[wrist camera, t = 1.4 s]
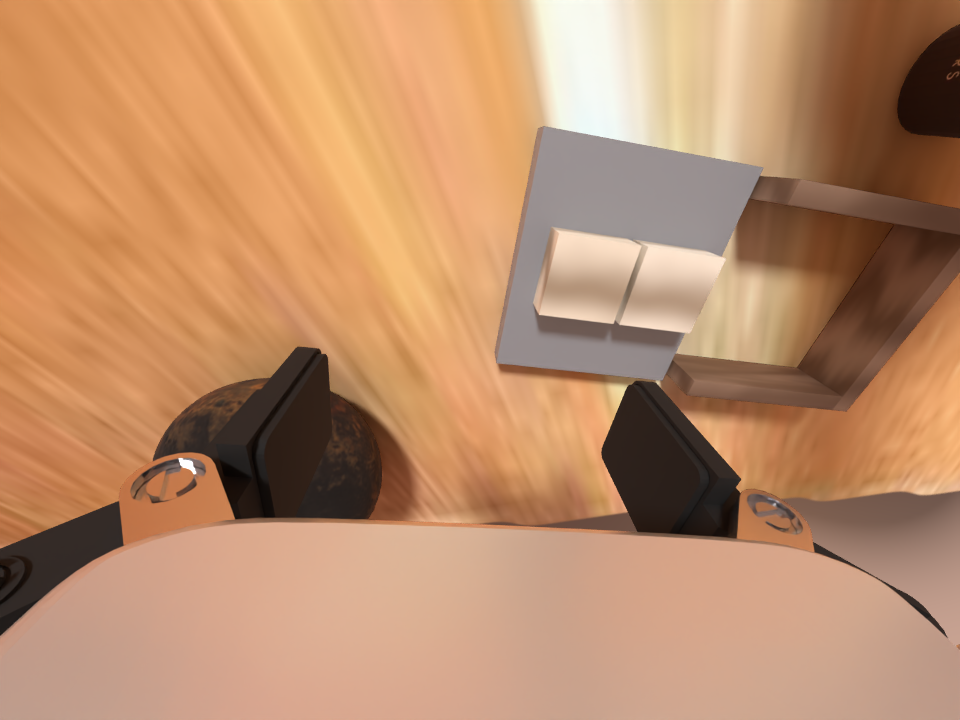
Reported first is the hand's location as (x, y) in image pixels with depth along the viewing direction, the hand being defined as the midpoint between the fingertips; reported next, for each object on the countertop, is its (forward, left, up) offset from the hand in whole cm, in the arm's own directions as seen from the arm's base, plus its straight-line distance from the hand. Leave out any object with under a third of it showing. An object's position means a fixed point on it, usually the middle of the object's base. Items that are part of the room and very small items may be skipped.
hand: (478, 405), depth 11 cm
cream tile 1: (0, +9, -19) cm, 21 cm away
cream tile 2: (0, +15, -19) cm, 24 cm away
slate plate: (0, +12, -21) cm, 24 cm away
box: (0, +28, -21) cm, 35 cm away
